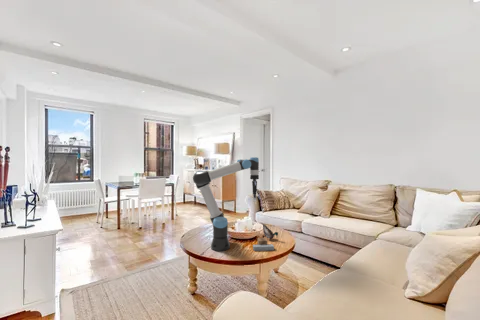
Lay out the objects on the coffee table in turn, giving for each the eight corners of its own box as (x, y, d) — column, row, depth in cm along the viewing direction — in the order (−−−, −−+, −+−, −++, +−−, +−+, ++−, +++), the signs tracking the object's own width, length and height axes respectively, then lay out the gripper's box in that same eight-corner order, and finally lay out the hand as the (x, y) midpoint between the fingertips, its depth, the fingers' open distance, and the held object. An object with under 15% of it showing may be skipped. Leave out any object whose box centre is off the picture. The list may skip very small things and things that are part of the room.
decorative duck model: (281, 236, 207) (275, 219, 211) (277, 238, 201) (270, 221, 205) (268, 240, 215) (262, 224, 219) (263, 242, 209) (257, 226, 213)
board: (253, 250, 183) (253, 247, 183) (252, 248, 188) (252, 244, 188) (273, 250, 184) (273, 246, 184) (272, 247, 189) (272, 244, 189)
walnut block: (258, 248, 189) (258, 241, 189) (257, 245, 196) (257, 238, 196) (267, 248, 189) (267, 240, 189) (265, 245, 196) (265, 237, 196)
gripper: (259, 175, 202) (259, 202, 202) (257, 174, 215) (257, 200, 215) (251, 175, 201) (251, 202, 201) (249, 174, 214) (249, 200, 214)
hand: (254, 201), depth 208 cm, fingers closed
